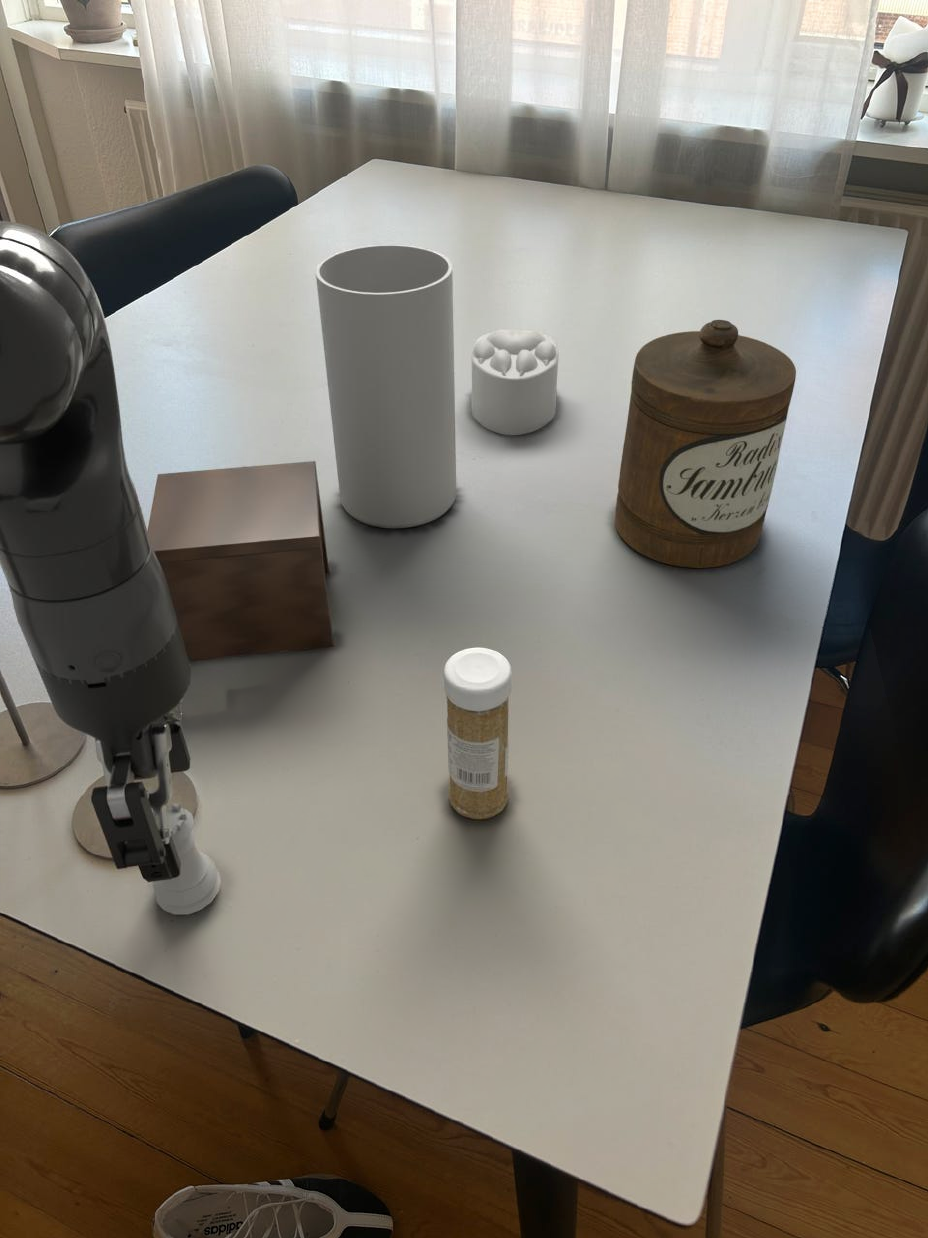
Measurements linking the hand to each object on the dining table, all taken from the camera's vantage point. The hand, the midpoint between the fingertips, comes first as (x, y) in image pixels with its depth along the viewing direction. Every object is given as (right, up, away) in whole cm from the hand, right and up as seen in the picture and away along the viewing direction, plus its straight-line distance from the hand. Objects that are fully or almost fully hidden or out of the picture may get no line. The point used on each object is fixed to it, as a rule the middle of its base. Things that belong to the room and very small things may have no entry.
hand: (169, 819), depth 62 cm
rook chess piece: (0, -6, +5) cm, 8 cm away
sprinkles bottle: (+20, -1, +11) cm, 23 cm away
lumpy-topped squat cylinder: (+25, +39, +58) cm, 74 cm away
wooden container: (+42, +22, +38) cm, 61 cm away
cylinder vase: (+12, +26, +43) cm, 51 cm away
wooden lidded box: (-1, +13, +28) cm, 31 cm away
